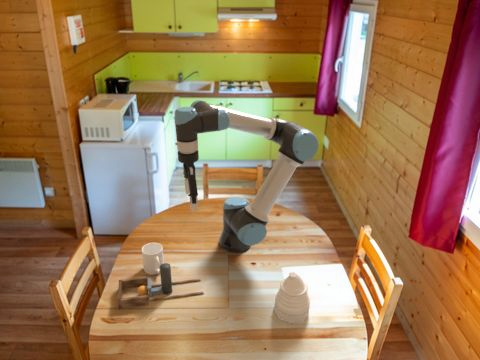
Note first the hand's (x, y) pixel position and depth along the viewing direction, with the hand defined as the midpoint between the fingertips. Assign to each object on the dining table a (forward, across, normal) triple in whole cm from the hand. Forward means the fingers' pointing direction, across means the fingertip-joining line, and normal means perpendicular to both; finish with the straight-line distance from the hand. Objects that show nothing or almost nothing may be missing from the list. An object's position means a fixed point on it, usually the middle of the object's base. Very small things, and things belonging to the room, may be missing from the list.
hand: (191, 201), depth 153 cm
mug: (+34, -4, -17) cm, 38 cm away
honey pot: (+35, +31, +31) cm, 56 cm away
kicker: (+33, +10, -16) cm, 38 cm away
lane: (+34, +10, -10) cm, 37 cm away
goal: (+33, +9, -26) cm, 43 cm away
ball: (+31, +9, -22) cm, 40 cm away
